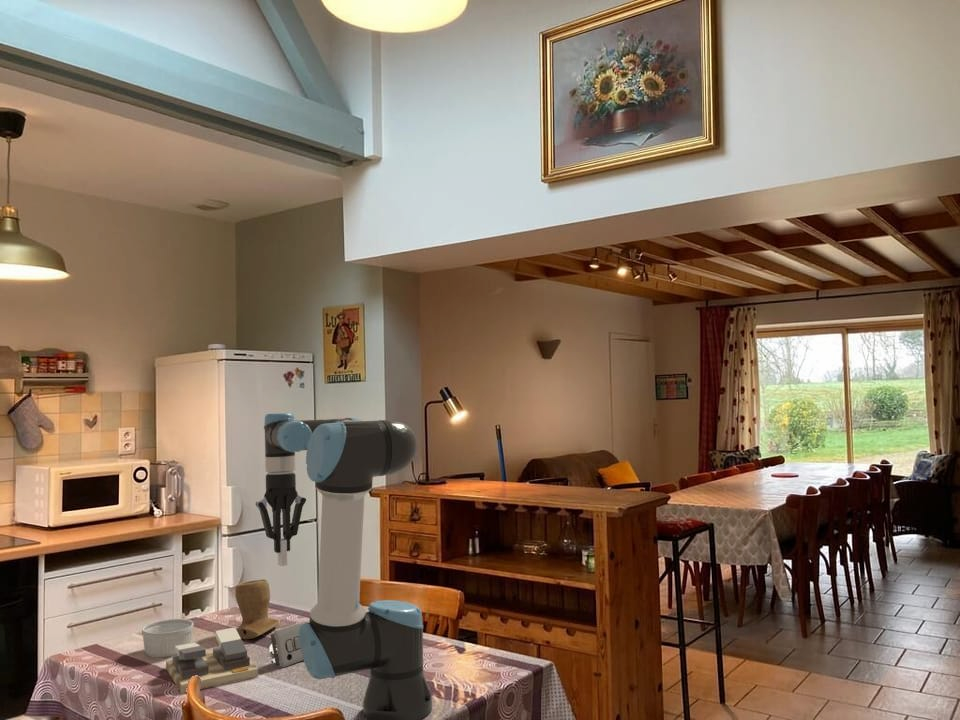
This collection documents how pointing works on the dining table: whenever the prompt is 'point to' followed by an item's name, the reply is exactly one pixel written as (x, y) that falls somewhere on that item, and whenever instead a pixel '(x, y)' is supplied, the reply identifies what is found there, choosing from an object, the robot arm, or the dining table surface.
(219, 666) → the switch board
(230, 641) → the rocker
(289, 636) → the electrical switch
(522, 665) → the dining table surface
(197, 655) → the rocker
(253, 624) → the tan piece
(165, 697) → the dining table surface
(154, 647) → the ramekin
